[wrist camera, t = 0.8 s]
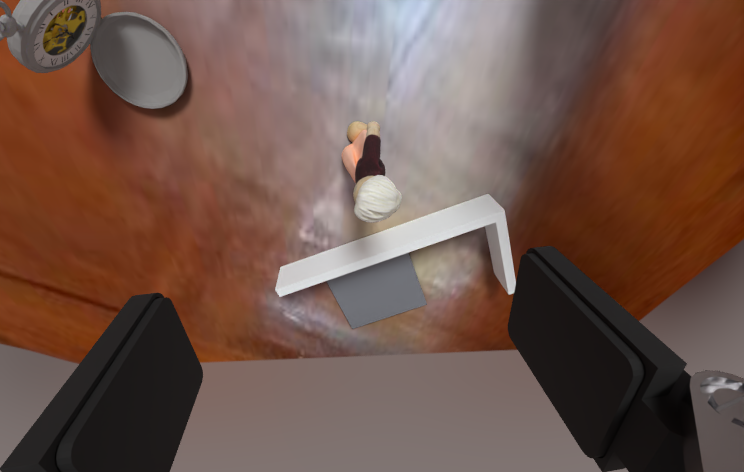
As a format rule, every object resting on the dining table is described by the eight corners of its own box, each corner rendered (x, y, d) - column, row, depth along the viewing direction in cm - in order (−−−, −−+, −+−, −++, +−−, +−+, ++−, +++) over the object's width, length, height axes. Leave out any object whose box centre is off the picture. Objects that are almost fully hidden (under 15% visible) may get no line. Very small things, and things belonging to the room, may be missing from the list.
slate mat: (404, 239, 38) (404, 241, 37) (426, 302, 43) (426, 304, 43) (320, 268, 39) (320, 270, 38) (352, 326, 44) (352, 328, 43)
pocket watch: (194, 111, 29) (137, 143, 21) (85, 97, 28) (-26, 125, 19) (182, -4, 25) (104, -24, 17) (53, -27, 24) (-105, -61, 15)
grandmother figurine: (333, 113, 30) (334, 157, 19) (376, 106, 30) (400, 146, 19) (348, 192, 34) (356, 264, 23) (386, 185, 34) (411, 255, 23)
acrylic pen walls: (488, 193, 36) (504, 210, 32) (502, 270, 42) (517, 291, 38) (280, 266, 38) (275, 289, 35) (320, 331, 44) (319, 356, 40)
